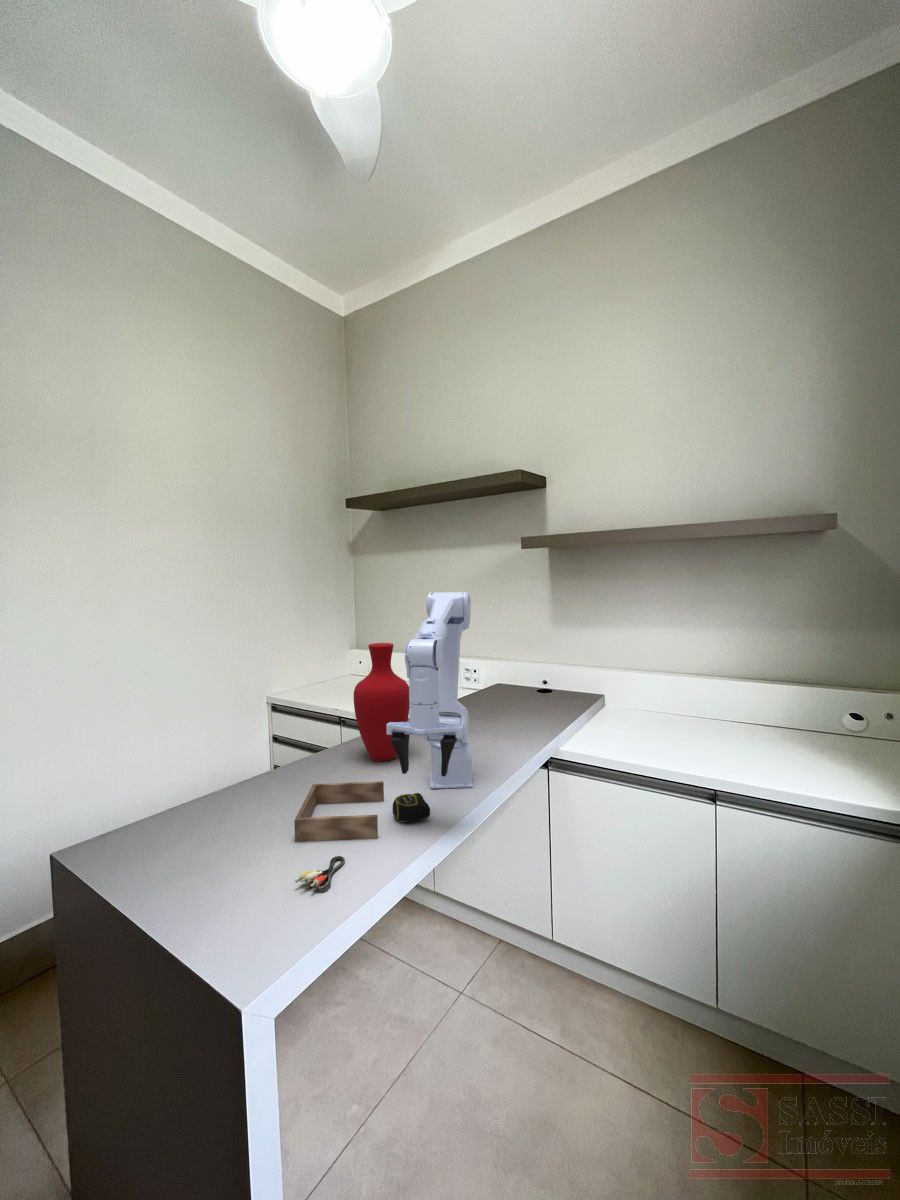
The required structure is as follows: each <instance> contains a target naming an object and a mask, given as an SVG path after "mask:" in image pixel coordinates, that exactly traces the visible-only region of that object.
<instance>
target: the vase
mask: <svg viewBox="0 0 900 1200" xmlns="http://www.w3.org/2000/svg"><path fill="white" fill-rule="evenodd" d="M368 650H369V654H370V660H371V669H370V672H369V673H368V674H367V676H365V677H364V678H363V679H361V680H360V681H359V682H357V683H356V685H355V686H354V690H353V707H354V715H355V721H356V724H357V728H358V732H359V735H360V737H361V740H362V743H363V744H364V747H365V750H366V751H367V753H368V756H369V758H370V759H371V760H373V761H376V762H387V761H391V760H394V759H395V758H396V757H397V753H396V751H395V749H394V747H393V745H392V744H391V741H390V739H391V738H392V735H387V724H388V723H389V722H409V683H408V682H407V681H406V680H405V679H403V678H402V677H400V676H398V675H397V674H396V673H395V672H394V671H393V669H392V655H393V651H394V644H393V643H391V642H376V643H375V642H373V643H370V644H368Z"/></svg>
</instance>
